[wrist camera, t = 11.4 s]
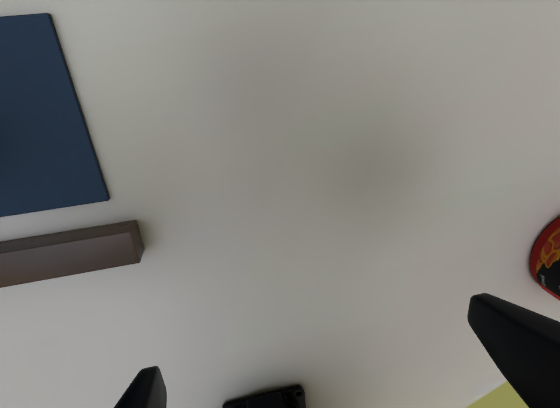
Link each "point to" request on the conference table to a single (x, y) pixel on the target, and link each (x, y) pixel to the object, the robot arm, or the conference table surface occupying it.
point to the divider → (69, 253)
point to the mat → (41, 124)
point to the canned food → (547, 259)
